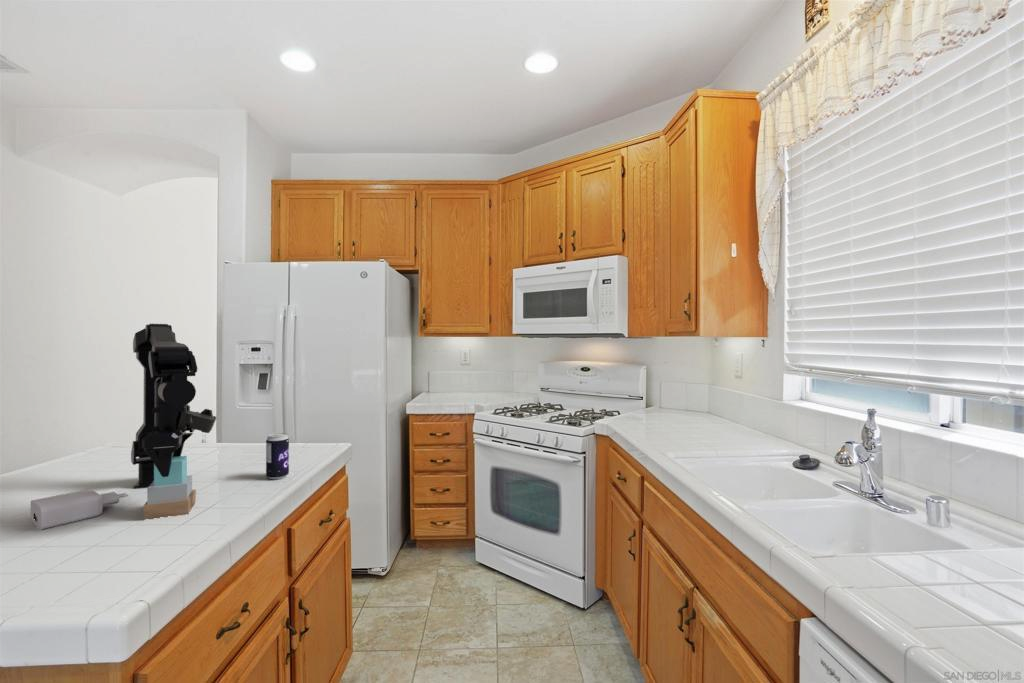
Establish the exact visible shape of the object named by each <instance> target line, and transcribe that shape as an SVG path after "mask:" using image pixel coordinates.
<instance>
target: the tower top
mask: <svg viewBox="0 0 1024 683" xmlns="http://www.w3.org/2000/svg"><path fill="white" fill-rule="evenodd" d="M192 490H193V475H192V474H191V475H187V478H186V479H185V480H184V481H183V483H181V484H172V485H163V486H154V481H153V482H152V484H151V485H150V486H148V487H147V490H146V491H147V492H146V494H147V495H146V498H147V499H146V502H147V505H148V504H156V503H163V502H171V501H179V500H186V499H188V497H189V495H190V493H191V491H192Z"/></svg>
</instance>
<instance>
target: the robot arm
mask: <svg viewBox="0 0 1024 683" xmlns="http://www.w3.org/2000/svg"><path fill="white" fill-rule="evenodd" d="M176 338H177V337H176V333H175V332H174V331H173V328H172V325H170V324H168V323H149V324H146V325H145V328H143V329H141V330H139V331H137V332H135V333H134V337H133V341H132V351H133V353H134V354H135V357H136V360H137V361H138V363H139V364H140V365H141V367H142V368H143V422H142V423H141V426H140V427H139V429H138V430H137V431H136V432H135V440H133V441H132V444H131V445H132V446H131V450H130V461H131V462H130V463H131V464H132V465H133V466H134V465H135V466H136V465H138V481H137V482H136V483H135V484H134V485H133V488H134V489H136V488H146V487H147V488H148V487H149V486H150V485H151V484H152V482H153V481H154V464H155V466H156V467H157V469H158V471H159V472H160V474H161V476H162V477H168V476H169V472H170V468H171V463H172V458H173V457H178V456H182V453H183V450H184V445H185V442H186V441H187V440H188V439H189V438H190V437H191V436H193V434H194V432H195V431H196V430H197V431H201V432H202V433H206V434H209V433H211V431H212V429H213V428H214V425H215V423H216V420H217V416H216V415H213V410H212V409H208V408H204V409H203V410H202V411H200V412H199V411H193V410H191V406H190V405H189V404H190V403H191V402H192V401H193V400H194V398H195V397H196V393H197V390H196V386H195V385H194V384H193V383H192V382H191V381H190V380H188V377H196V373H197V372H198V365H197V360H196V356H195V355H194V354H193V351H192V350H190V348H189V347H188V345H186V344H185V343H180V342H177V340H176Z"/></svg>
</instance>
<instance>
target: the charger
mask: <svg viewBox="0 0 1024 683" xmlns="http://www.w3.org/2000/svg"><path fill="white" fill-rule="evenodd" d="M125 497H129V494H126V492H123V493H116V492H115V491H111V492H106V493H101V494H100V493H98V492H96V491H94V490H92V489H88V488H87V489H82V490H77V491H73V492H68V493H63V494H56V495H52V496H48V497H47V496H46V497H43V498H38V499H32V500H31V501H30V521H31V522H32V524H33V525H35V526H36V527H37V528H38V527H39V528H40V529H43V530H45V528H47V529H50V528H49V527H51V528H55V527H57V526H58V525H59V526H63V525H67V524H71V523H76V522H79V520H80V521H83V519H84V520H87V518H88V519H92V518H96V517H99V516H100V514H102V513H103V507H107V506H111V505H117V504H118V503H120V498H121V499H122V498H125ZM34 519H35V520H34ZM75 521H76V522H75ZM70 522H71V523H70ZM62 524H63V525H62ZM54 526H55V527H54ZM59 526H58V527H59ZM39 528H38V529H39ZM40 529H39V530H40Z"/></svg>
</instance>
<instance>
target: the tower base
mask: <svg viewBox="0 0 1024 683" xmlns="http://www.w3.org/2000/svg"><path fill="white" fill-rule="evenodd" d="M196 490H197V489H195V488H194V489H192V491H191V493H190V495H189V497H188V499H186V500H179V501H171V502H163V503H156V504H148V505H147V501H146V502H145V503H144V504H143V506H142V508H143V509H142V521H146V520H145V519H149V520H155V519H154V518H157V519H161V518H160V517H164V518H169V517H168V516H172V517H178V515H179V516H186V514H187V515H189V514H190V513H189V512H191V511H192V509H193V508H194V506H195V504H196V503H197V501H196V499H197V498H196V497H197V496H196V495H197V494H196V492H197V491H196ZM195 502H196V503H195ZM192 507H193V508H192Z"/></svg>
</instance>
